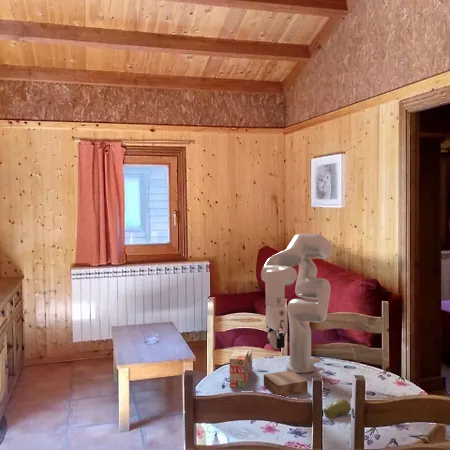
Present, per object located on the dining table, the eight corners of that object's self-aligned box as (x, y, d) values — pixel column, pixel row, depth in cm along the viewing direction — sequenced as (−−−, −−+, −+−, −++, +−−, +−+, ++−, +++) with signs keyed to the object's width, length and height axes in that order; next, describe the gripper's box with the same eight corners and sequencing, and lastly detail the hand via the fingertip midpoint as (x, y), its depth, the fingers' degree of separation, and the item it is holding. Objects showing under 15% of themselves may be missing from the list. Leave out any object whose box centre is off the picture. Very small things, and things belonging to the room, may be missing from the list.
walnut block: (291, 381, 202) (291, 370, 202) (307, 393, 190) (307, 380, 190) (263, 386, 198) (263, 374, 198) (278, 398, 186) (278, 385, 185)
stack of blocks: (238, 369, 217) (238, 342, 217) (252, 370, 216) (252, 343, 215) (229, 387, 196) (229, 358, 196) (244, 388, 195) (244, 358, 194)
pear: (352, 400, 169) (328, 409, 165) (354, 414, 169) (330, 424, 166) (343, 394, 174) (319, 403, 171) (345, 408, 175) (322, 417, 171)
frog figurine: (273, 344, 195) (272, 327, 194) (287, 348, 190) (287, 330, 190) (264, 348, 190) (264, 331, 190) (279, 352, 186) (279, 334, 185)
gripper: (295, 304, 182) (295, 350, 184) (273, 295, 198) (273, 337, 200) (277, 306, 179) (278, 353, 181) (256, 297, 195) (257, 340, 197)
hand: (276, 344), depth 190 cm, fingers closed on frog figurine, 6 cm apart
